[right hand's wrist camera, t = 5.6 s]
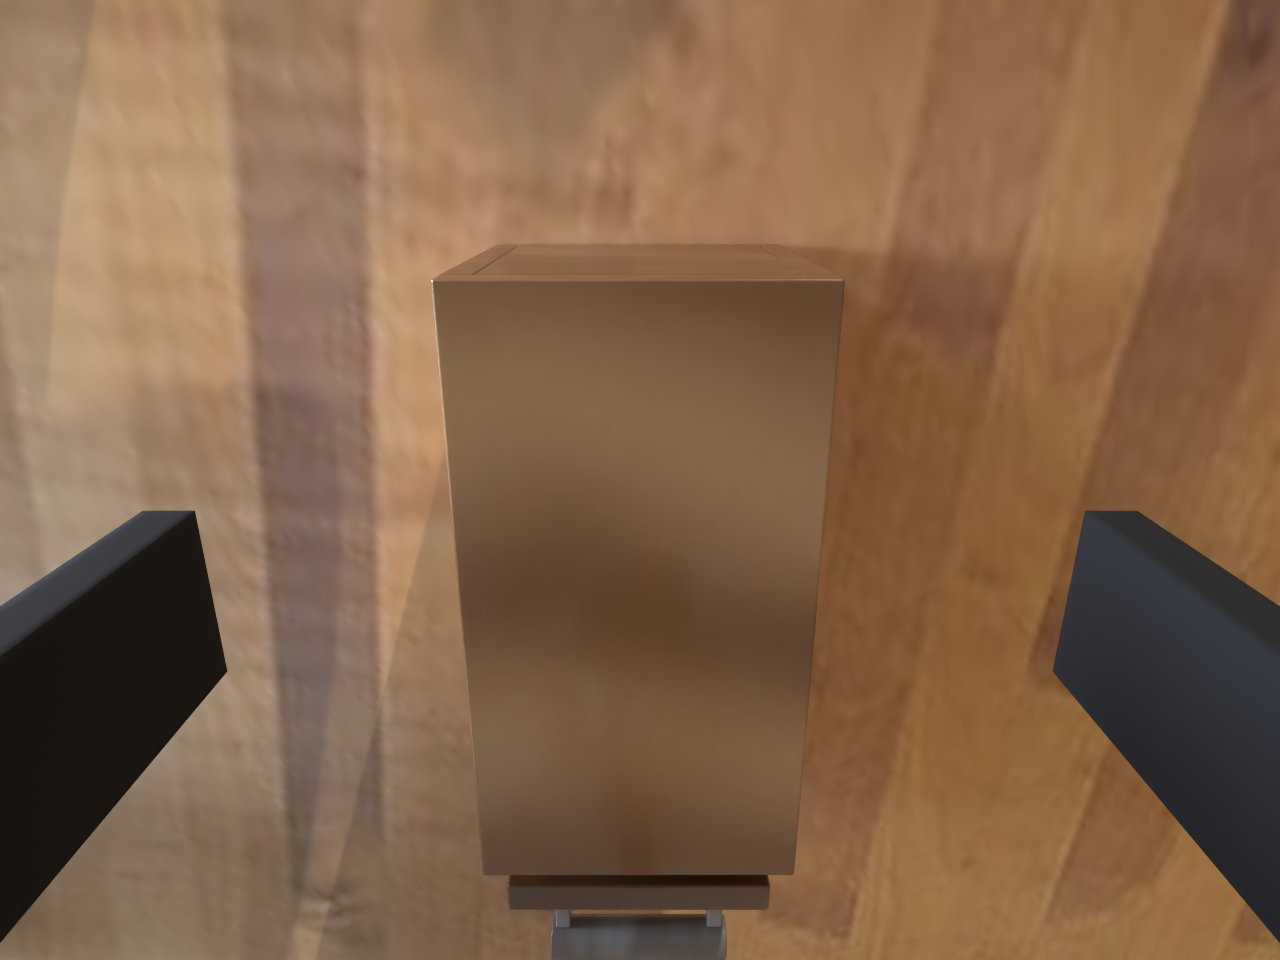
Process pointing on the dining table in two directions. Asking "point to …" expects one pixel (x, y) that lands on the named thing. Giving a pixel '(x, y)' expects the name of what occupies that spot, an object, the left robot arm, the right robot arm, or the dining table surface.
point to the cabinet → (638, 547)
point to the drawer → (638, 943)
